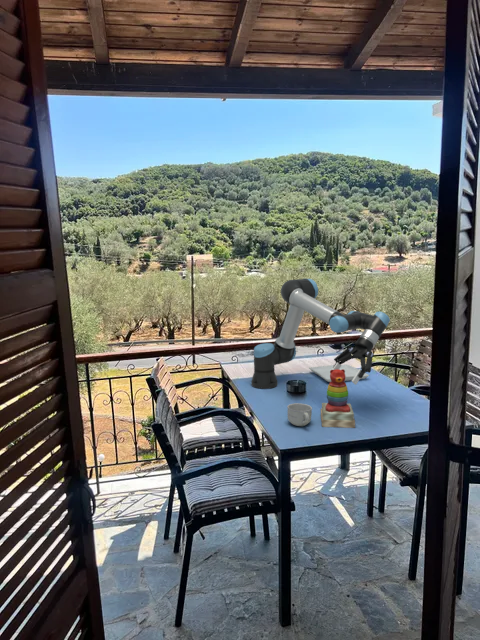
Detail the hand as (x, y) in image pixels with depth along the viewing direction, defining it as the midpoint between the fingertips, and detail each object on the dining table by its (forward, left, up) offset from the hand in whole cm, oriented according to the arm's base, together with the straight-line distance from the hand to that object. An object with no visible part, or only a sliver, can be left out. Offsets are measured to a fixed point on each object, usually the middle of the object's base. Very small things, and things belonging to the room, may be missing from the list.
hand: (342, 379), depth 190 cm
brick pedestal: (-2, -1, -19) cm, 19 cm away
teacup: (-18, -7, -20) cm, 28 cm away
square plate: (+4, +69, -20) cm, 72 cm away
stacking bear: (-2, -1, -13) cm, 14 cm away
